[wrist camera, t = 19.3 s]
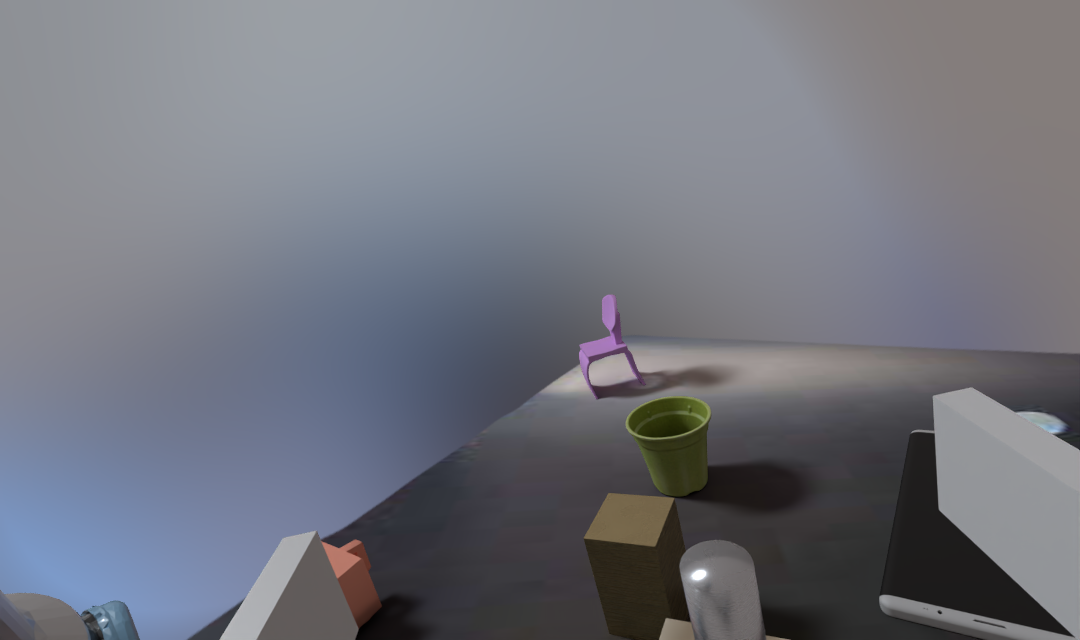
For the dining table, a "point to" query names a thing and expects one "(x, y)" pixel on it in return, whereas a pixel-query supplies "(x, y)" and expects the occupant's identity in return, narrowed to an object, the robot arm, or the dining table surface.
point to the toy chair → (606, 342)
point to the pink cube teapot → (354, 579)
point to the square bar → (638, 564)
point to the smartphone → (951, 567)
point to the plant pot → (673, 442)
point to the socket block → (685, 631)
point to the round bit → (722, 592)
